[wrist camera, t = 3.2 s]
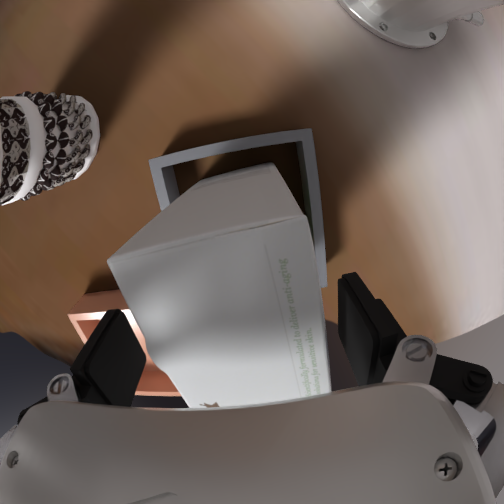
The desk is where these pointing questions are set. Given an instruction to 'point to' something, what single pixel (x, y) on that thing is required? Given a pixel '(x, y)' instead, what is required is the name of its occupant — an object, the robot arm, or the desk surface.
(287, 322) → the skincare box
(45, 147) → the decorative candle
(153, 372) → the terracotta bin
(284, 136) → the frame
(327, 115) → the desk surface
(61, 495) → the robot arm
